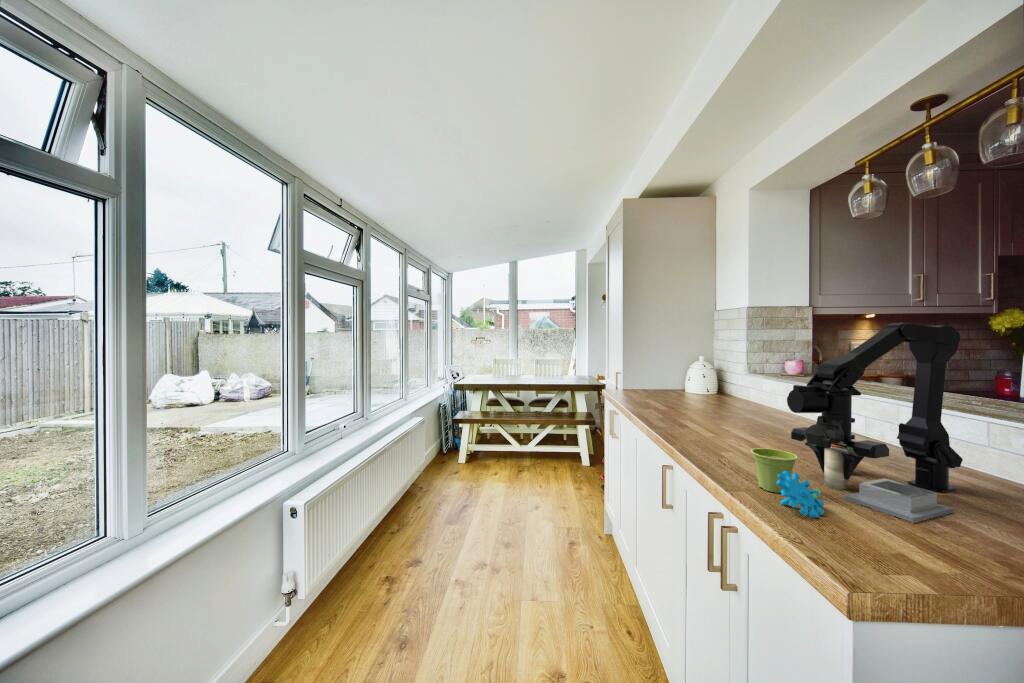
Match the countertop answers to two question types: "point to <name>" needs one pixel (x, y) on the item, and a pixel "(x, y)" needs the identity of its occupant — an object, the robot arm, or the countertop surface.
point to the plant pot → (772, 466)
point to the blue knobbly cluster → (800, 494)
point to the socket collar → (898, 495)
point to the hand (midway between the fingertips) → (835, 476)
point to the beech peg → (834, 468)
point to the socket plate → (912, 517)
